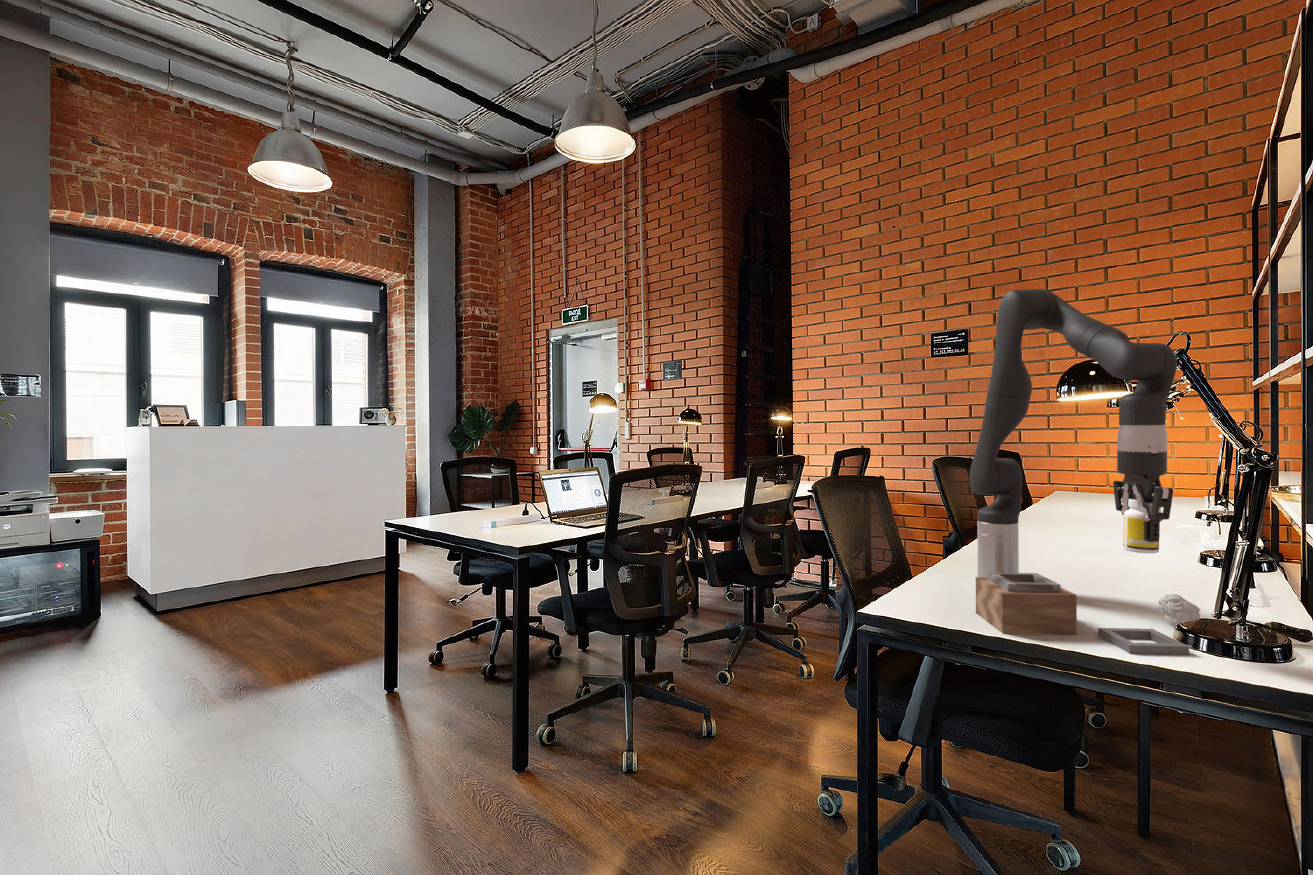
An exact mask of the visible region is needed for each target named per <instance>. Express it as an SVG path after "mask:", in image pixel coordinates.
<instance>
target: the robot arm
mask: <svg viewBox="0 0 1313 875" xmlns="http://www.w3.org/2000/svg"><path fill="white" fill-rule="evenodd" d="M997 312H998V313H997V318H996V320H997V321H996V332H995V344H994V346H995V348H994V353H993V354H994V355H993V361H992V368H991V374H990V378H989V379H990V380H989V384H988V386H987V387H988V388H987V394H986V399H985V405H984V412H983V418H982V424H981V428H980V434H979V437H978V441H977V445H976V448H975V451H974V454H973V458H972V461H971V466H970V471H969V486H970V489H971V490H972V491H973V493H975V494H977V495H980V496H996V498H995V499H994V501H993V502H991V503H989V505H986V506H983V507H982V508H980V509H978V510H977V513H976V514H977V515H976V516H977V517H976V519H977V520H976V521H977V523H976V526H977V529H976V530H977V534H976V535H977V536H976V537H977V577H989V573H1020V570H1019V567H1020V565H1019V564H1020V560H1019V559H1020V557H1019V556H1020V553H1019V550H1020V548H1019V546H1020V545H1019V544H1020V543H1019V537H1020V536H1019V535H1020V534H1019V516H1020V514H1021V511H1022V510H1021V509H1022V490H1023V473H1022V469H1021V466H1020V464H1019V462H1017V461H1016V459H1013V458H1006V457H1005V458H998V453H999V451H1000V448H1001V446H1002V445H1003V443H1004V442H1005V440H1006V439H1007V438H1008V437H1009V436H1010V435H1011V434H1012V432H1013V431H1014V430H1015V429H1016V428H1017V427H1018V426H1019V425H1020V423H1021V422H1022V421H1023V420H1024V419H1025V417H1026V415H1027V414H1028V410H1029V406H1030V401H1031V397H1032V390H1033V384H1032V383H1033V382H1032V379H1031V376H1030V374H1029V371H1028V370H1027V366H1026V365H1025V363H1024V359H1023V356H1022V351H1021V350H1022V341H1023V334H1024V331H1027V330H1029V331H1031V330H1032V331H1033V330H1040V329H1044V330H1049V331H1053V332H1056V333H1059V334H1061V335H1062V336H1063V337H1064V340H1065V342H1066V343H1067V345H1068V346H1069V347H1070V348H1072V349H1073V350H1074V351H1076V352H1077V353H1079V354H1081V355H1083V356H1085V357H1087V358H1089V359H1092V360H1093V361H1095V362H1097V363H1098V365H1099V366H1100V367H1101V368H1103V369H1104V370H1105V371H1106V372H1107V373H1108V374H1109V375H1111V376H1112V377H1115V378H1117V379H1120V380H1124V381H1138V382H1137V384H1136V388H1135V390H1134V392H1132V393H1129V394H1125V395H1123V396H1122V397H1121V398H1120V400H1119V402H1118V430H1117V437H1116V440H1117V441H1116V471H1117V473H1119V474H1121V475H1124V476H1123V480H1113V482H1112V485H1113V486H1112V487H1113V494H1114V495H1113V496H1114V501H1115V502H1114V504H1115V510H1116V511H1117V512H1119V511H1120V513H1121V515H1122V516H1124V512H1125V511H1127V510H1129V509H1130V507H1129V505H1128V502H1129V499H1134V500H1137V502H1138V506H1139V508H1140V509H1141V510H1142V511H1143V515H1144V519H1145V521H1144V540H1145V541H1148V542H1158V541H1159V542H1160V535H1161V534H1160V533H1161V532H1160V529H1161V528H1160V523H1161V522H1163V520H1169V519H1170V517H1171V509H1172V504H1173V503H1172V502H1173V496H1174V495H1173V494H1174V489H1173V488H1172V487H1165V486H1162V482H1161V479H1160V477H1161V476H1164V475H1166V474H1167V473H1168V434H1167V424H1166V423H1167V419H1166V418H1167V416H1166V415H1167V412H1166V410H1167V409H1166V405H1167V404H1166V403H1167V400H1168V397H1169V395H1170V393H1171V388H1172V386H1173V383H1174V380H1175V376H1176V374H1177V366H1178V361H1177V356H1176V354H1175V352H1174V350H1173V349H1172V348H1171V346H1169V345H1168V344H1165V343H1161V342H1134V341H1130V338H1129V337H1128V335H1127V334H1126V333H1125V332H1124V331H1122V330H1121V329H1118V328H1116V327H1114V326H1111V325H1109V324H1107V323H1104V322H1102V321H1100V320H1097V319H1095V318H1093V317H1090V316H1088V315H1087V314H1085V313H1083V312H1082V311H1080V310H1078V309H1077V308H1075V307H1074V306H1073V305H1071V304H1069V303H1068V302H1066V301H1065V300H1064V299H1063V298H1061V297H1060V296H1059V295H1057V294H1055V293H1054V292H1052V291H1050V290H1047V289H1044V288H1027V289H1026V288H1025V289H1024V288H1023V289H1012V290H1009V291H1008V292H1006V293H1005V294H1004V295H1003V297H1002V298H1001V301H1000V304H999V307H998V311H997ZM1146 503H1152V504H1146ZM1149 509H1152V510H1151V514H1150V511H1149Z"/></svg>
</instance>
